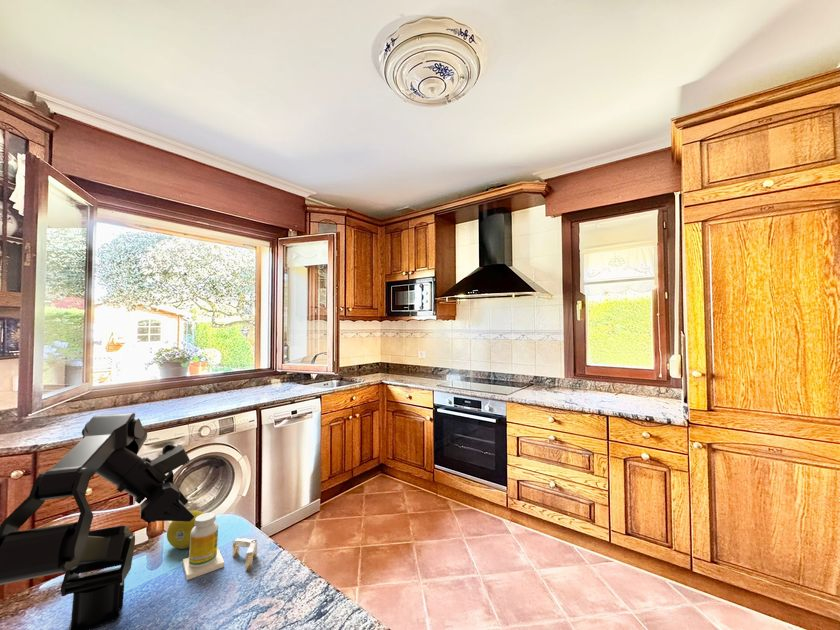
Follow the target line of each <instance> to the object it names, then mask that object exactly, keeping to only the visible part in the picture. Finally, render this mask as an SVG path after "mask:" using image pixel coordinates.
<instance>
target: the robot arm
mask: <svg viewBox="0 0 840 630" xmlns="http://www.w3.org/2000/svg"><path fill="white" fill-rule="evenodd" d="M81 435H82V439H81V440H80V441H79V442H78V443H77V444H76V445H75V446H73V448H71V449H70V450H69V451H68V452H67V453H66V454H65V455H64V456H62V458H61V459H59V460H58V461H57V463H55V464H54V465H53V466H52V467H51V468H50V469H48V470H46V471H44V472H43V471H42V472H41V473H39V474H38V476H36V478H35V480H34V482H33V485H32V488H31V491H30V492H29V495H28V496H27V497H26V498H25V500H23V501H22V502H21V503H20V504H19V505H18V507H16V508H15V509H14V510H13V511H12V512H11V513H10V514H9V515H8V516H7V517H6V518H5V519H4V520H3V521H2V522H1V523H0V586H1V585H7V584H11V583H16V582H21V581H26V580H31V579H35V578H42V577H45V576H51V575H56V574H62V573H64V575H63V580H62V583H61V586H60V595H61V597H65V596H68V595H72V594H73V595H72V605H71V606H72V608H71V616H70V617H71V619H70V625H69V630H94V629H96V628H98V627H101V626H103V625H104V626H105V625H106V624H108V623H111V622H114V621H116V620H118V619H119V618H120V610H122V609H123V607H124V596H125V580H126V578H127V576H128V574H129V573H130V571H131V569H132V563H133V556H134V552H135V551H134V550H135V544H136V535H133V532H132V531H131V530H130V525H126V526H125V525H118V526H117V525H115V526H110V527H106V528H99V529H98V528H97V529H93V530H91V526H92V523H93V520H94V513H93V511H92V509H91V507H90V504H89V502H88V500H87V498H86V497H87V496H86V493H87V490H88V487H89V483H90V480H91V479H92V477H93V476H94V475H95V474H96V475H98V476H100V477H101V478H102V479H104V480H106V481H108V482H109V483H111V484H112V485H115V486H116V491H117V492H119V493H122V492H125V493H127V494H128V495H130V496H132V497H133V498H134V501H135V502H136V503H137V504H139V507H140V508H139V515H140V516H139V517H140V519H141V520H142V521H144V522H146V523H148V524H151V523H155V522H172V521H188V522H189V521H191V520H192V519H193V518H194V515H193V514H192V513H191V512H190V511H191V510H189V508H188V507H186V505H187V504H188V502H189V500H188V499H187V497H186V496H185V495H184V494H183V493H182V491H181V490H180V489H179V488H178V487H177V485H176V484H175V483H174V470H176V469H178V468H179V467H181V466H185V465H187V464H188V463H189V462H190V461H191V459H190V457H189V456H188V454H187V452H186V450H185V448H184V446H183V445H182V444H177V445H174V444H172V443H171V442H169V443H167V444H166V445H164V446H162V451H161V454H159V455H157V457H155V458H154V459H150V458H149V457H143V458H142V457H140V456H139V455H138V453H139V452H140V450H141V448H143V445H144V444H145V442H146V440H147V438H148V432H147V429H145V428H144V427H143V424H142V421H141V419H140V418H136V413H135V412H129V413H128V412H126V413H113V414H98V415H97V414H96V415H93V417H91V418H90V420H89V421H88V422H86V423H85V424H84V427H83V428H82V430H81ZM70 497H73V498H74V500H75V504H76V505H77V507H78V509H79V516H78V519H77V521H76V522H69V523H61V524H57V525H50V526H43V527H38V528H32V529H25V530H19V529H20V528H21V527H22V526H23V525H24V524H25V523H26V522H27V521H29V519H30V518H31V517H32V516H33V515H34V514H35V513H36V512H37V511H38V510H39V509H40V507H42V506H43V505H44V503H45V501H49V500H56V499H63V498H70ZM118 566H120V567H118ZM114 567H116V568H114ZM107 568H109V569H107ZM103 569H106V570H103ZM93 571H94V572H93ZM95 571H96V572H95ZM88 572H89V573H88ZM90 572H91V573H90ZM86 573H87V574H86Z"/></svg>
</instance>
